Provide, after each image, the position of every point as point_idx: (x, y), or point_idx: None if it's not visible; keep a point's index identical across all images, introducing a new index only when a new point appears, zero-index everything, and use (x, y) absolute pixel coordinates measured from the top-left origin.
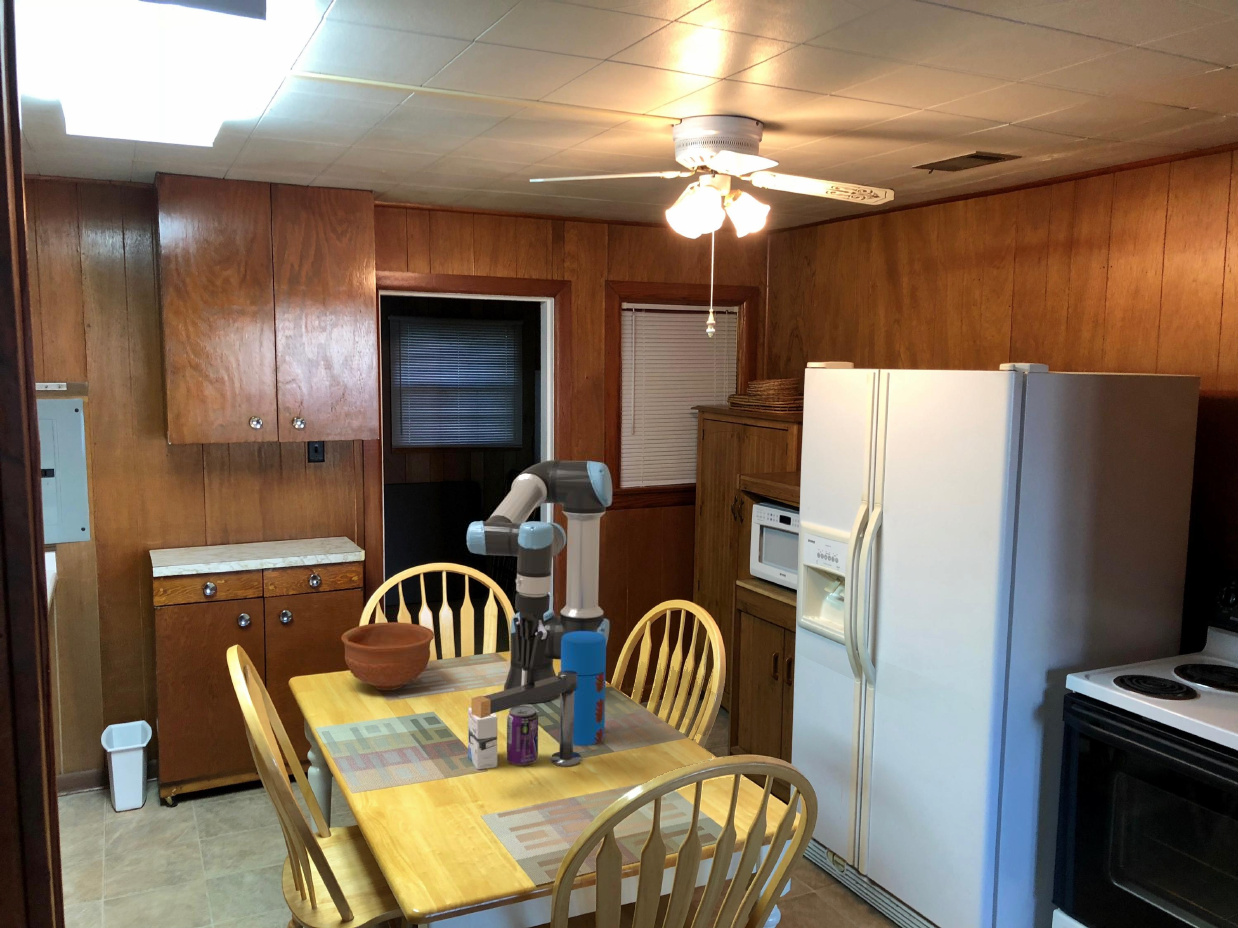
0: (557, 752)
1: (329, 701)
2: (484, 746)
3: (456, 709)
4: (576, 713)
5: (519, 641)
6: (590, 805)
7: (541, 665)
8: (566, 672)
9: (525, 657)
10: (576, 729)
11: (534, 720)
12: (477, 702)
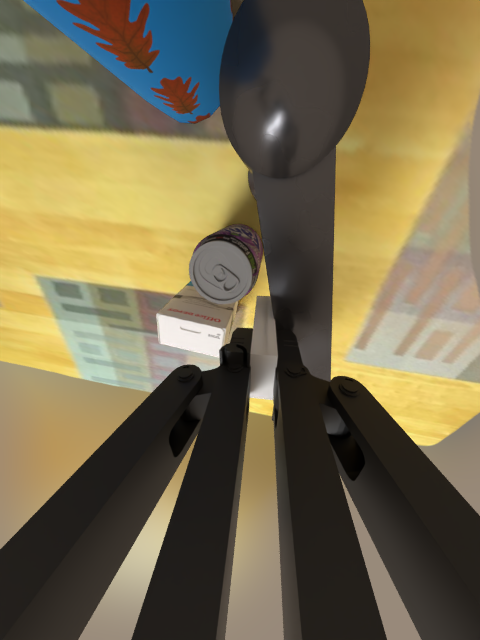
0: (249, 179)
1: (13, 351)
2: (232, 321)
3: (24, 244)
4: (199, 57)
5: (126, 545)
6: (452, 239)
7: (374, 401)
8: (266, 84)
9: (245, 440)
10: (214, 84)
11: (255, 257)
12: None
